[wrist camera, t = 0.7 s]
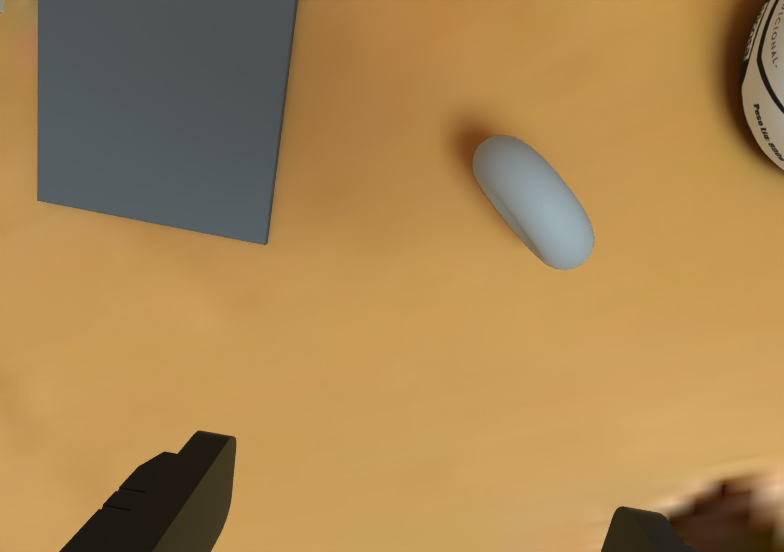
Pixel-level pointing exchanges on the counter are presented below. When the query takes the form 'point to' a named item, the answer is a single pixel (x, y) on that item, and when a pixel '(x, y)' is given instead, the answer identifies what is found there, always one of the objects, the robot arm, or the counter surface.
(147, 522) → the robot arm
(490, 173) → the donut
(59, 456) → the counter surface
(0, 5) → the tile
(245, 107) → the mat
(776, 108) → the milk container
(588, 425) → the counter surface
